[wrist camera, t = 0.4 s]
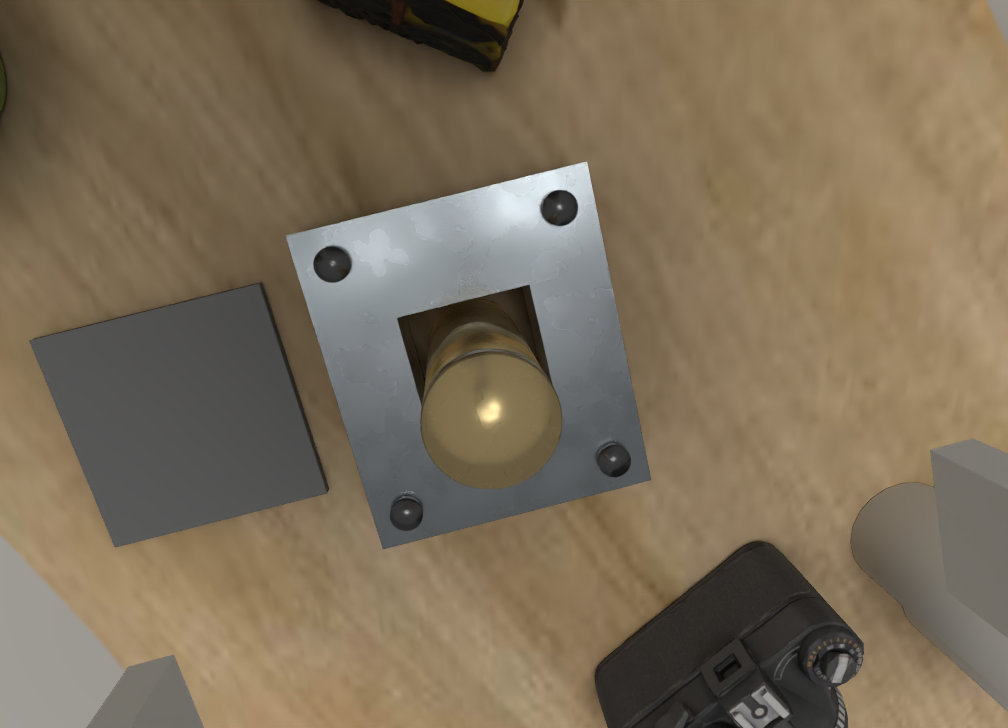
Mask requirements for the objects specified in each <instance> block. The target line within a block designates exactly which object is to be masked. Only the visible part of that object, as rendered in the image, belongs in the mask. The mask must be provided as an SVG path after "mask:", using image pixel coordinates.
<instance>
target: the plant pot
mask: <svg viewBox="0 0 1008 728" xmlns="http://www.w3.org/2000/svg"><path fill="white" fill-rule="evenodd" d="M5 94H6V82H5V72H4V68H3V64H2V61H1V58H0V111H1V110H2V108H3V105H4V101H5Z"/></svg>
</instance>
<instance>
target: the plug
mask: <svg viewBox="0 0 1008 728" xmlns="http://www.w3.org/2000/svg"><path fill="white" fill-rule="evenodd" d="M420 429H421V436H422V440H423V443H424V446H425V449H426V451H427V453H428V455H429V456H430V458H431V459H432V461H433V462H434V464H435V465H436V466H437V467H438V468H439V469H440V470H441V471H442V472H443V473H445V474H446V475H447V476H448V477H450V478H452V479H453V480H455V481H457V482H459V483H461V484H463V485H466V486H469V487H473V488H479V489H501V488H506V487H510V486H513V485H516V484H519V483H521V482H523V481H525V480H527V479H528V478H530V477H532V476H533V475H534V474H536V473H537V472H538V471H539V470H540V469H541V468H542V467H543V466H544V465H545V464H546V463H547V462H548V460H549V459H550V458H551V456H552V455H553V453H554V451H555V449H556V447H557V445H558V442H559V439H560V435H561V431H562V409H561V404H560V401H559V397H558V395H557V393H556V391H555V389H554V387H553V385H552V383H551V382H550V380H549V379H548V377H547V375H546V374H545V373H544V372H543V370H542V368H541V367H540V365H539V363H538V361H537V360H536V358H535V356H534V354H533V353H532V351H531V349H530V347H529V346H528V344H527V342H526V340H525V339H524V337H523V335H522V333H521V331H520V330H519V328H518V326H517V324H516V323H515V321H514V320H513V318H512V317H511V315H510V314H509V313H508V312H507V311H506V310H505V309H503V308H502V307H501V306H499V305H497V304H495V303H493V302H490V301H487V300H483V299H470V300H466V301H462V302H458V303H455V304H453V305H451V306H450V307H448V308H447V309H446V310H445V311H443V312H442V314H441V315H440V316H439V317H438V318H437V320H436V321H435V323H434V325H433V328H432V330H431V334H430V339H429V350H428V360H427V370H426V380H425V390H424V398H423V402H422V407H421V417H420Z"/></svg>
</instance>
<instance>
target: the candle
mask: <svg viewBox="0 0 1008 728" xmlns="http://www.w3.org/2000/svg"><path fill="white" fill-rule="evenodd" d="M318 1H320V2H322V3H324V4H326V5H328V6H330V7H333V8H339V9H341V10H342V11H343V12H344V13H345V14H346V15H348V16H351V17H354V18H357V19H366V20H367V21H369V22H370V23H371V24H372V25H378V26H380V27H382V28H383V29H385V30H390V31H391V32H393V33H396V34H398V35H400V36H401V37H405V38H407V39H410V40H413V41H414V42H415V43H416V44H422V43H424V44H426V45H429V46H431V47H433V48H436V49H439V50H442V51H444V52H446V53H447V54H449V55H452V56H454V57H457V58H460V59H462V60H465V61H468V62H471V63H473V64H475V65H476V66H477V67H478V68H480V69H481V70H482V71H483V72H488V71H496V69H497V67H498V65H499V63H500V61H501V59H502V56H503V54H504V51H505V50H506V47H507V44H508V40H509V38H510V36H511V34H512V28H513V26H514V23H515V21H516V20H517V18H518V17H519V16H518V13H519V11H520V8H521V7H522V5H523V1H524V0H318Z"/></svg>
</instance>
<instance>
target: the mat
mask: <svg viewBox="0 0 1008 728" xmlns="http://www.w3.org/2000/svg"><path fill="white" fill-rule="evenodd" d="M30 344H31V346H32V349H33V351H34V354H35V356H36V358H37V361H38V363H39V366H40V368H41V370H42V373H43V375H44V378H45V380H46V382H47V385H48V387H49V390H50V392H51V395H52V397H53V399H54V402H55V404H56V407H57V409H58V411H59V414H60V416H61V419H62V421H63V423H64V426H65V428H66V431H67V433H68V436H69V438H70V440H71V443H72V445H73V448H74V450H75V452H76V455H77V457H78V460H79V462H80V464H81V467H82V469H83V472H84V474H85V477H86V479H87V481H88V484H89V486H90V489H91V491H92V493H93V496H94V498H95V501H96V503H97V506H98V508H99V510H100V513H101V515H102V518H103V520H104V522H105V525H106V527H107V530H108V532H109V534H110V537H111V539H112V542H113V544H114V547H119V546H123V545H127V544H131V543H135V542H138V541H142V540H146V539H150V538H154V537H158V536H162V535H166V534H170V533H174V532H178V531H181V530H185V529H189V528H193V527H197V526H201V525H205V524H209V523H213V522H217V521H220V520H224V519H228V518H232V517H236V516H240V515H244V514H248V513H252V512H256V511H259V510H263V509H267V508H271V507H275V506H279V505H283V504H287V503H291V502H295V501H299V500H302V499H306V498H310V497H314V496H318V495H322V494H326V493H327V492H328V490H329V488H328V485H327V482H326V478H325V475H324V472H323V469H322V466H321V463H320V460H319V457H318V454H317V451H316V448H315V445H314V442H313V438H312V435H311V432H310V429H309V426H308V423H307V420H306V417H305V414H304V411H303V408H302V405H301V401H300V398H299V395H298V392H297V389H296V386H295V383H294V380H293V377H292V374H291V371H290V368H289V364H288V361H287V358H286V355H285V352H284V349H283V346H282V343H281V340H280V337H279V334H278V331H277V327H276V324H275V321H274V318H273V315H272V312H271V309H270V306H269V303H268V300H267V297H266V294H265V291H264V287H263V284H262V282H261V283H257V284H253V285H249V286H245V287H241V288H237V289H233V290H229V291H225V292H221V293H217V294H213V295H209V296H205V297H201V298H197V299H193V300H189V301H185V302H181V303H177V304H173V305H169V306H165V307H161V308H157V309H153V310H148V311H144V312H140V313H136V314H132V315H128V316H124V317H120V318H116V319H112V320H108V321H104V322H100V323H96V324H92V325H88V326H84V327H80V328H76V329H72V330H68V331H64V332H60V333H56V334H52V335H48V336H44V337H40V338H36V339H33V340H30Z"/></svg>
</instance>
